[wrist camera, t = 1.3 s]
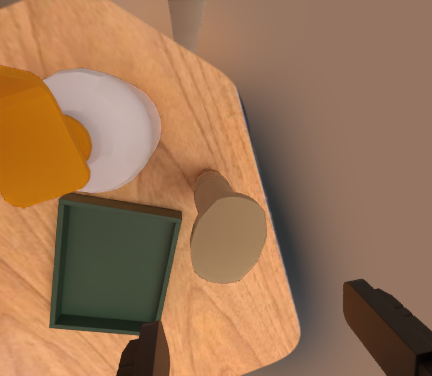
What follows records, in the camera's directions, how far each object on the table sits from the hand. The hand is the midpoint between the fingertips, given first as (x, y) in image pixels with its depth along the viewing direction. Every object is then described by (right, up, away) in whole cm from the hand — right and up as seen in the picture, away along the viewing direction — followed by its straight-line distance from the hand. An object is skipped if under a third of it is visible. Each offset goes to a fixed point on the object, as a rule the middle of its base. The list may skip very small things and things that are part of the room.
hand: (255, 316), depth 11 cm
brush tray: (-14, -4, +22) cm, 27 cm away
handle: (-3, +6, +21) cm, 22 cm away
